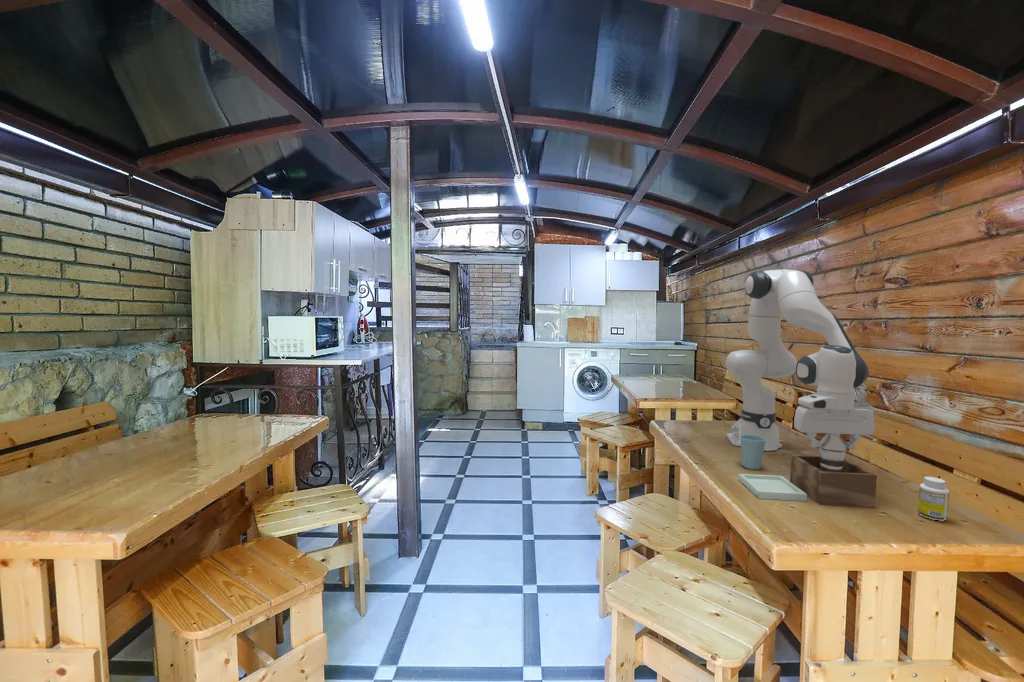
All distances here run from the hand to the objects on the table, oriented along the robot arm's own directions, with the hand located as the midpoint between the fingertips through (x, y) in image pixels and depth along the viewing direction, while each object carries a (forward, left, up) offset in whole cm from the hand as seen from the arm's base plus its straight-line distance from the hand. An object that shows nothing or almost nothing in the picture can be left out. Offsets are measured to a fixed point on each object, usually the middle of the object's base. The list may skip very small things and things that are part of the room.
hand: (832, 448), depth 124 cm
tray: (-1, -16, -14) cm, 21 cm away
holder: (0, 0, -14) cm, 14 cm away
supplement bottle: (+12, +18, -14) cm, 26 cm away
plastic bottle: (0, 0, -14) cm, 14 cm away
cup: (-21, -13, -14) cm, 29 cm away
